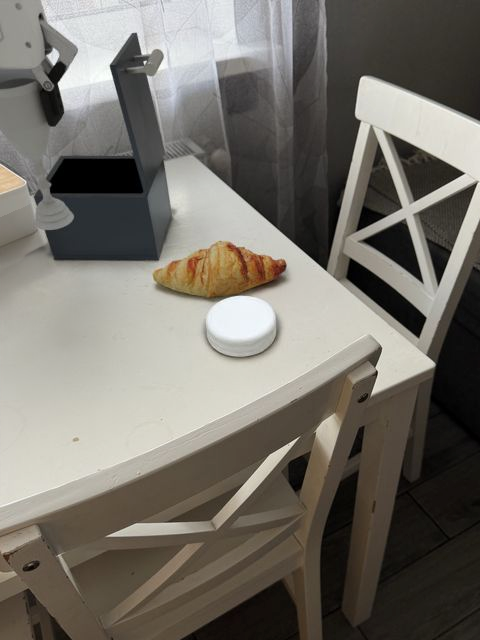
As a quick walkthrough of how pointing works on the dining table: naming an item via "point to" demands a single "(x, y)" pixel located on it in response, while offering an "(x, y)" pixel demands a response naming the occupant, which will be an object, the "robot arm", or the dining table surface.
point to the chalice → (30, 138)
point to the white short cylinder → (241, 326)
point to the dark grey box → (108, 210)
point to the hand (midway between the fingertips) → (24, 120)
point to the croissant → (219, 271)
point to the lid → (139, 106)
